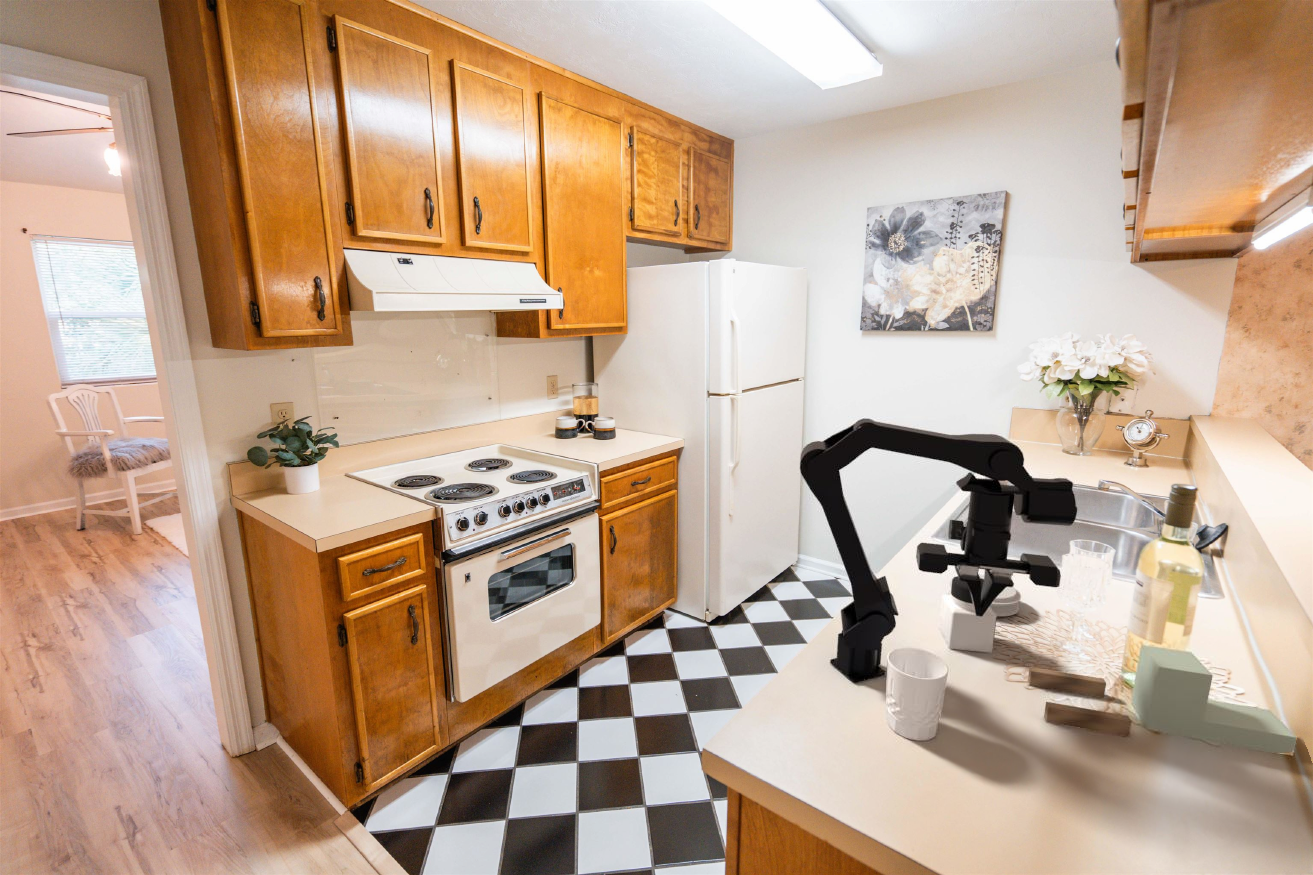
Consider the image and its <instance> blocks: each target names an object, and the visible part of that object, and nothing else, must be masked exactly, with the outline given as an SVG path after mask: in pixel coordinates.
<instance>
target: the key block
mask: <svg viewBox="0 0 1313 875" xmlns="http://www.w3.org/2000/svg"><path fill="white" fill-rule="evenodd" d="M1213 676H1214V675H1213V674H1212V673H1211V672H1210V671H1209V669H1208V668H1207V667H1205V665H1204V664H1203V663H1202V662H1201V661H1200V660H1199V659H1198V657H1196V655H1195V654H1194V653H1193V652H1191V651H1187V650H1178V649H1172V648H1165V647H1159V646H1154V645H1153V646H1152V645H1145V644H1140V649H1139V654H1138V659H1137V664H1136V671H1135V678H1134V683H1133V688H1132V694H1131V700H1130V706H1131V707H1132V709H1133V710H1134V711H1135V713H1136V714H1137V715H1138V717H1139V719H1140V721H1141V722H1142V724H1143V725H1144V726H1145V729H1147V730H1150V731H1154V732H1159V733H1165V734H1170V735H1175V736H1181V737H1187V738H1191V739H1197V740H1201V741H1207V742H1212V743H1217V744H1218V742H1219V744H1223V745H1230V746H1234V747H1238V748H1239V747H1240V748H1244V749H1251V750H1257V751H1259V752H1260V751H1261V752H1266V753H1272V754H1276V753H1290V752H1292V751H1293V750H1294V748H1295V749H1296V747H1295V745H1296V746H1297V743H1296V737H1297V735H1296V734H1295V733H1293V731H1292V730H1291V729H1290V728H1289V727H1287V726H1286V724H1285V723H1284V722H1283V721H1281V719H1280V718H1279V717H1277V715H1276V714H1275V713H1274V712H1273V711H1272V710H1270V709H1265V708H1261V707H1260V708H1259V707H1254V706H1248V705H1243V704H1235V703H1231V702H1225V701H1217V700H1213V699H1209V696H1210V691H1211V686H1212V682H1213Z"/></svg>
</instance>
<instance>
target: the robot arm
mask: <svg viewBox="0 0 1313 875" xmlns="http://www.w3.org/2000/svg"><path fill="white" fill-rule="evenodd" d="M870 449H878V450H882V451H888V452H893V453H897V454H904V455H909V456H915V457H920V458H924V459H930V460H936V461H942V462H944V463H945V462H946V463H951V464H953V465H956V466H958V467H960V468H963V469H965V470H968V471H969V472H967V474H966V475H964V476H963V477H962V478H960V479H958V480H956V482H955V484H956V485H957V487H958V488H959V489H960V490H961V491H962V492H969V493H970V494H969V495H970V496H969V505H968V515H967V521H966V526H964V520H957V519H949V525H948V534H947V535H948V539H949V540H954V541H955V540H956V541H960V549H961V551H962V552H964V553H956V552H947V549H946V546H945V544H940V543H929V542H920V543H919V544H917V546H916V554H915V558H916V564H917V567H918V570H919V571H920V572H924V573H932V574H939V575H942V574H943V573H945V572H946V571H948V568H949V566H951V567H954V570H955V573H956V576H957V575H958V578H959V580H961V581H964V582H967V584H968V587H969V590H970V594H971V598H972V602H973V606H974V610H975V614H976V616H980V617H982V616H983V615H984V613H985V612H986V610H987V609H988V608H989V606H990V605H991V603H992V602H993V601H994V599H995V598H996V597H997V596H998V595H999V594H1000V593H1001V592H1002V591H1003V590H1004V589H1005V588H1006V587H1015V586H1014V585H1015V583H1014V581H1013V579H1012V576H1014V574H1021V575H1029V576H1028V578H1029V580H1030V581H1031V582H1032V583H1033V584H1034V585H1035V586H1041V587H1050V588H1059V587H1060V586H1061V576H1062V575H1061V570H1060V569H1059V567H1058V566H1057V565H1056V563H1054V560H1052V558H1050V557H1049V556H1048V555H1043V554H1034V553H1025V552H1023V553H1021V555H1020V558H1019V560H1018V559H1009V558H1008V552H1009V544H1010V541H1011V539H1012V538H1011V537H1012V533H1011V527H1012V520H1013V511H1014V513H1015V515H1016V516H1021V520H1022V522H1024V523H1026V524H1035V525H1049V526H1050V525H1051V526H1053V525H1054V526H1064V527H1065V526H1066V527H1067V526H1068V527H1069V526H1072V525H1073V524H1074V522H1075V521H1076V519H1077V514H1078V507H1077V504H1076V503H1077V502H1076V497H1075V492H1074V491H1073V487H1074V482H1073V481H1072V480H1070V479H1068V478H1065V477H1064V478H1063V477H1057V478H1040V477H1039V478H1038V477H1033V476H1031V475H1030V473H1029V472H1028V471H1027V469H1026V468H1025V466H1024V465H1025V457H1024V453H1023V451H1022V450H1021V449H1020V447H1019V446H1017V445H1016V444H1014V443H1013V442H1011V441H1010V440H1008V439H1006V438H1005V437H1004V436H1002V435H998V434H996V433H994V434H992V433H991V434H990V433H989V434H988V433H969V434H968V433H967V434H947V433H941V432H936V431H931V430H926V429H925V430H924V429H919V428H915V427H914V428H913V427H908V426H903V425H898V424H892V423H886V422H880V421H876V420H873V419H871V418H861V419H858V420H857V421H856V422H854V423H853V424H852V425H850V426H848V427H846V428H845V429H842V430H840V431H839V432H836V433H834V434H832V435H831V436H829V437H827V438H825V439H824V440H822V441H821V440H816V441H812V442H810V443H808V444H806V445H805V446H804V447H803V449H802V450H801V453H800V459H799V470H800V474H801V476H802V478H803V480H804V482H805V484H807V486H808V488H809V490H810V491H811V493H812V494H813V495H814V497H815V498H816V500H817V501H818V502H819V504H820V505H821V507H822V510H823V512H824V515H825V518H826V520H827V523H828V524H827V525H829V529H830V532H831V534H832V538H833V540H834V542H835V545H836V548H837V550H838V553H839V556H840V558H841V561H842V564H843V565H844V569H845V572H846V574H847V577H848V579H849V582H850V586H851V592H852V598H853V601H851V602H850V603H849V604H848V605H846V606H845V607H843V608H842V609H840V617H841V627H842V630H841V632H839V633H838V634H837V647H836V648H837V649H836V657H835V658H831V659H830V660H829V663H830V665H832V666H833V667H834V668H835V669H836V670H838V671H839V672H840V673H841V674H842V675H844V677H846V678H847V679H849V681H851V682H852V683H854V684H858V683H862V682H865V681H869V680H872V679H876V678H879V677H883V676H884V677H885V676H886V675H887V671H886V670H884V669H883V668H882V667H880V666H881V662H882V661H881V660H882V649H883V643H882V642H883V640H884V639H885V637H887V636H889V635H890V634H891V633H893V631H894V629H895V628H896V626H897V625H896V624H897V621H896V617H895V616H897V617H898V616H899V612H898V609H897V604H896V602H895V598H894V595H893V594H892V593H891V591H890V587H889V584H888V580H887V576H886V575H884V576H881V577H879V578H877V576H876V575H875V573H874V572H873V570H872V568H871V565H870V563H869V561H868V558H867V555H866V552H865V549H864V547H863V544H862V542H861V539H860V536H859V534H858V531H857V528H856V526H855V522H854V520H853V517H852V514H851V512H850V509H849V507H848V504H847V501H846V498H845V496H844V489H843V484H842V479H841V471H840V470H842V469H844V468H845V467H847V466H848V465H850V464H852V462H854V461H855V460H856V459H857V458H859V457H860V456H861V455H862V454H864V453H865V452H867V451H869V450H870ZM974 473H975V474H977V475H980V476H982V477H985V478H982V477H981V478H979V477H977V476H976V475H974ZM1006 481H1007V482H1009V483H1010V484H1012V485H1010V484H1001V483H1000V482H1006ZM980 570H984V574H983V575H984V583H983V587H982V592H981V579H980V577H979V575H980V574H979V571H980Z"/></svg>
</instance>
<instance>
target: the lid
mask: <svg viewBox="0 0 1313 875" xmlns="http://www.w3.org/2000/svg"><path fill="white" fill-rule="evenodd" d="M984 575H985V574H979V577H980V578H982V579H984ZM949 587H950V588H951V587H952V579H951V580H950V581H949ZM948 595H951V589H950V590H949V591H948ZM1021 599H1022V594H1021V593H1020V591H1018V590H1017V589H1016V588H1015V586H1013V587H1006V588H1005V589H1004V590H1003V591H1002V592H1001V593H1000V594H999V595H998V596H997V597H996V598H995V599H994V601H993V602H992V603H991V605H990V608H991V609H992V611H993V612H994V613H995V615H996V616H997V617H1009V616H1014V615H1015V614H1017V613H1018V612H1019V611H1020V605H1019V603H1020V601H1021Z"/></svg>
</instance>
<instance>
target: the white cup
mask: <svg viewBox="0 0 1313 875" xmlns="http://www.w3.org/2000/svg"><path fill="white" fill-rule="evenodd" d="M948 674H949V667H948V664H947V663H946V662H945V661H944V660H943V659H942V658H941V657H939V656H937V655H936V654H934V653H932V652H930V651H928V650H924V649H920V648H917V647H898V648H897V647H896V648H894V649H891V651H890V650H889V652H888V653H887V656H886V683H885V684H886V687H885V688H886V690H885V691H886V692H885V693H886V696H885V698H886V699H885V700H886V714H885V715H886V716H885V717H886V721H887V725H888V726H889V727H890V729H891V730H893V731H894V733H895V734H897V735H899V736H901V737H903V738H905V739H909V740H913V741H917V742H919V741H921V742H922V741H929V740H931V739H933V738H935V737H936V735H937V733H938V730H939V723H940V718H941V716H942V710H943V705H944V701H945V700H944V699H945V693H946V687H947V681H948Z"/></svg>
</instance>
